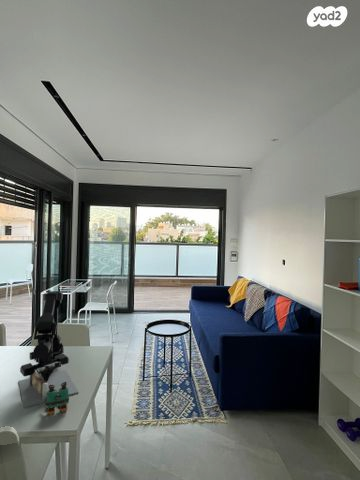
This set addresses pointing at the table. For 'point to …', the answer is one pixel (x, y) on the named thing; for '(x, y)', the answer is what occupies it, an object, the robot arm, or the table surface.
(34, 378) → the wooden bar with ends
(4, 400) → the table surface
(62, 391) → the binoculars
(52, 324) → the robot arm
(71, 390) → the gate base
